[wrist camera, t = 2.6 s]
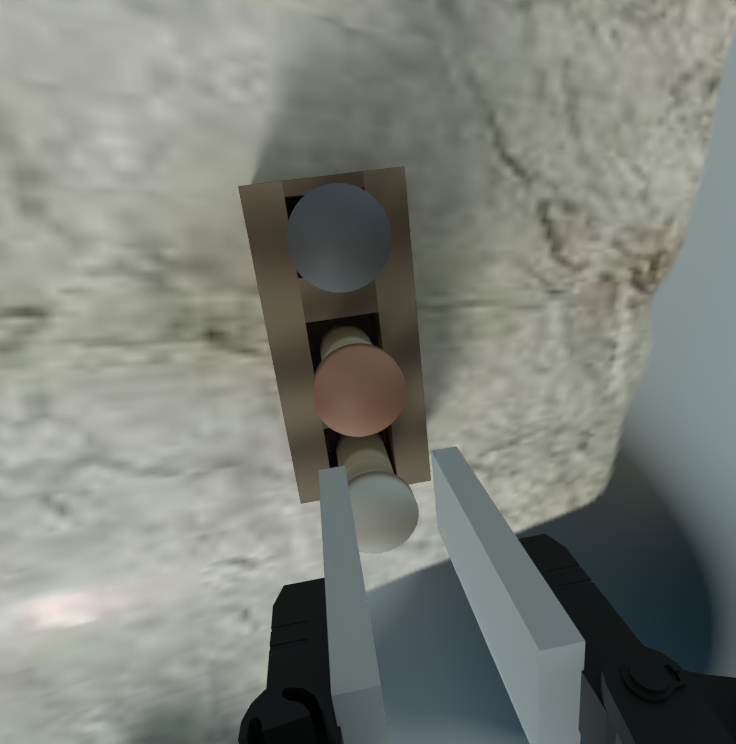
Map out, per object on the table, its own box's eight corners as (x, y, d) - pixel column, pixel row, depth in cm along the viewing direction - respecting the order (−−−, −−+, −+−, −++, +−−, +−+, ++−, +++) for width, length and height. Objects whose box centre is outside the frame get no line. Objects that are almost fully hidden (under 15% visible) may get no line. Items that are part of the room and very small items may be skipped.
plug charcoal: (284, 197, 26) (277, 189, 18) (362, 188, 26) (386, 176, 19) (298, 276, 27) (295, 299, 20) (371, 266, 28) (396, 285, 20)
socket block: (248, 191, 29) (238, 186, 24) (388, 174, 30) (404, 166, 25) (301, 465, 36) (300, 503, 31) (414, 446, 37) (430, 480, 32)
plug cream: (322, 422, 30) (328, 489, 23) (388, 411, 31) (415, 474, 23) (332, 479, 32) (340, 560, 24) (394, 468, 32) (421, 544, 25)
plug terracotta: (305, 319, 28) (305, 356, 21) (376, 308, 29) (402, 342, 21) (316, 385, 30) (320, 443, 22) (383, 375, 30) (410, 428, 22)
